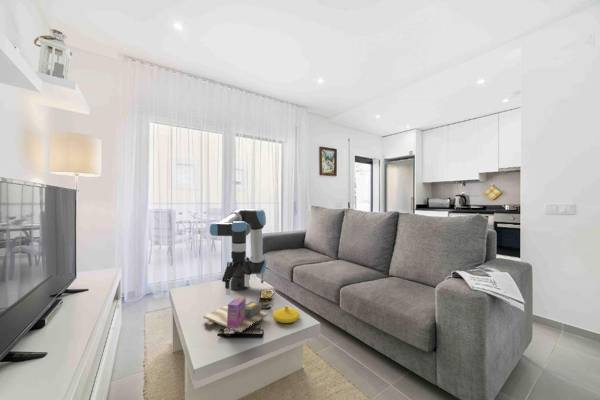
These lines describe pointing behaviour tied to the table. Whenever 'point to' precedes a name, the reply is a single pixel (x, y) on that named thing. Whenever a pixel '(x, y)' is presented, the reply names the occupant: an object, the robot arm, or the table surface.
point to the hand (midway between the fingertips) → (237, 290)
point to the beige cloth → (221, 318)
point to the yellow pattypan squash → (286, 315)
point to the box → (236, 312)
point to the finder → (252, 309)
